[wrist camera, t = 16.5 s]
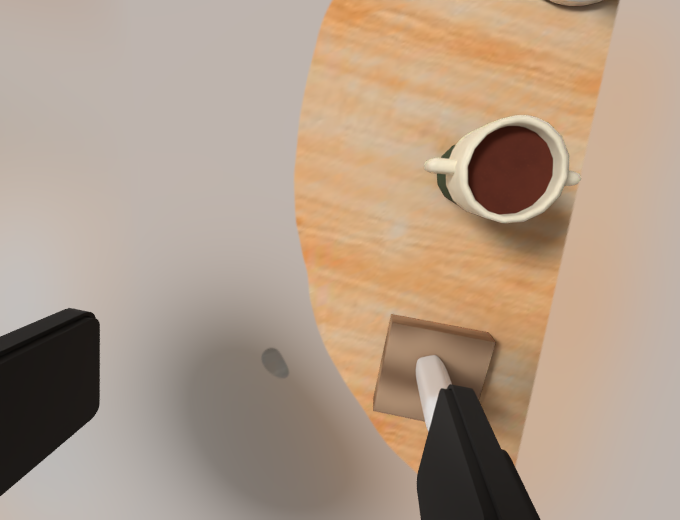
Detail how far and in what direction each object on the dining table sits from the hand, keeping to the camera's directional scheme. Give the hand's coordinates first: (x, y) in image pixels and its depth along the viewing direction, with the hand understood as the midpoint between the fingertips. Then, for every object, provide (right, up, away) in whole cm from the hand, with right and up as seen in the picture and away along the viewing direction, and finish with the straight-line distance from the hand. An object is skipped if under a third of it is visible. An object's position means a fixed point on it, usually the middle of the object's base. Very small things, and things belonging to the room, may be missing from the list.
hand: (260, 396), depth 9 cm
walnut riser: (+12, -9, +32) cm, 35 cm away
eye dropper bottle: (+12, -9, +30) cm, 33 cm away
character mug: (+15, +13, +27) cm, 33 cm away
